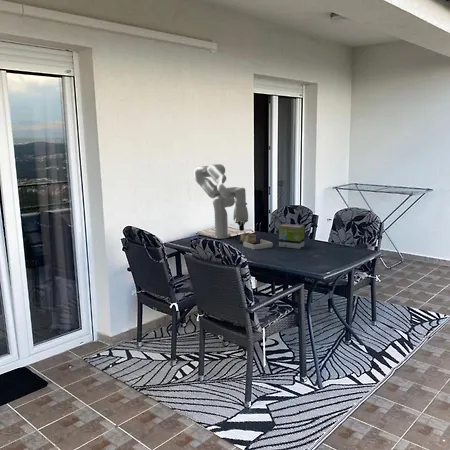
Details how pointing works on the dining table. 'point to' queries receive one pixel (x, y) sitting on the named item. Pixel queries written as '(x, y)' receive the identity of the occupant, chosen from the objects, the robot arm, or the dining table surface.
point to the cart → (248, 238)
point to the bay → (258, 245)
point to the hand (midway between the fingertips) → (241, 230)
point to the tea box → (291, 235)
